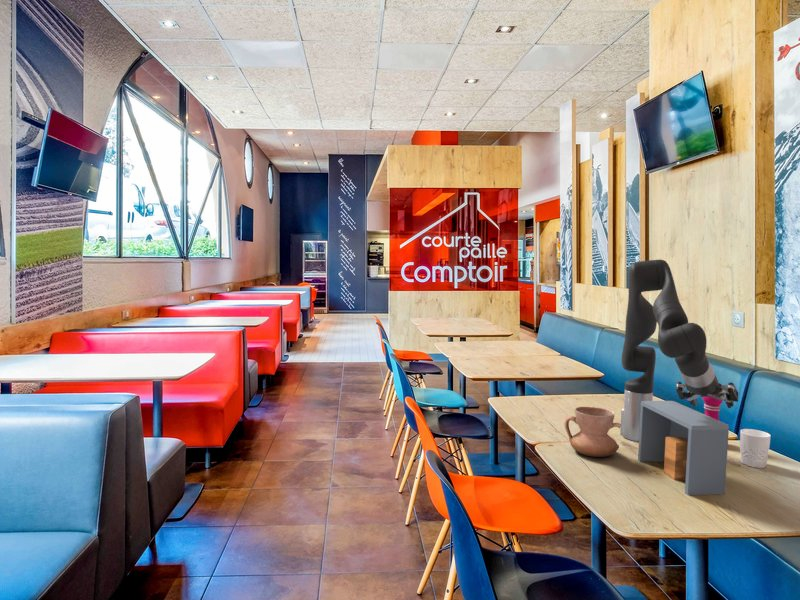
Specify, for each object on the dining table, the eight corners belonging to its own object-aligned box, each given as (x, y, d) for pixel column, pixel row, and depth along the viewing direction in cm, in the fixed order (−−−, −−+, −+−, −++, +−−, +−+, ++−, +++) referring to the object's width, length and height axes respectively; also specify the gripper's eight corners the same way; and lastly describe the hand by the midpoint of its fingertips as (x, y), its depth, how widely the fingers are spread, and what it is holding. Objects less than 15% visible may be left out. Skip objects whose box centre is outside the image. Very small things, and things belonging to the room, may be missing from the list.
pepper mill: (725, 447, 176) (729, 389, 174) (702, 445, 177) (706, 388, 176) (717, 440, 183) (720, 385, 181) (695, 438, 184) (698, 383, 183)
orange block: (674, 479, 149) (676, 442, 148) (663, 472, 154) (665, 436, 153) (690, 479, 149) (692, 442, 148) (679, 472, 154) (681, 436, 153)
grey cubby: (687, 495, 139) (691, 425, 137) (638, 460, 163) (640, 401, 162) (724, 493, 140) (729, 425, 138) (669, 459, 164) (673, 400, 163)
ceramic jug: (625, 452, 170) (626, 409, 169) (615, 465, 158) (616, 420, 157) (571, 441, 180) (571, 401, 180) (557, 453, 169) (558, 410, 168)
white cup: (765, 461, 163) (767, 431, 163) (771, 470, 156) (773, 438, 155) (736, 457, 167) (738, 427, 166) (740, 466, 159) (742, 434, 159)
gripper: (729, 362, 133) (742, 393, 142) (670, 362, 143) (685, 392, 152) (728, 387, 130) (741, 418, 139) (667, 386, 139) (683, 414, 148)
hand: (712, 404), depth 145 cm, fingers open, 8 cm apart
